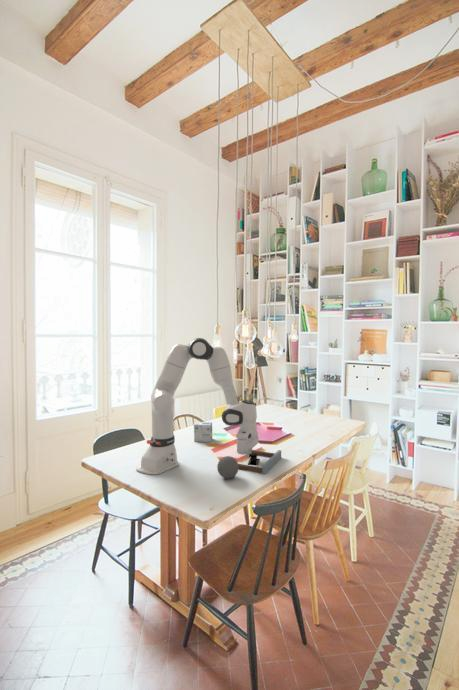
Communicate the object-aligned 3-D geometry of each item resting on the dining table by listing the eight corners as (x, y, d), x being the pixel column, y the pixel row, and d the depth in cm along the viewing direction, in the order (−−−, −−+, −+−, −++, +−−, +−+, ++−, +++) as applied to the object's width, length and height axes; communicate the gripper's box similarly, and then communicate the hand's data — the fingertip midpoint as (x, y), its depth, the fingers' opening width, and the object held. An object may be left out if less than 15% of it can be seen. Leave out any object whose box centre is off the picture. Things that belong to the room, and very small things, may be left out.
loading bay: (265, 474, 176) (265, 466, 176) (218, 465, 188) (218, 457, 187) (281, 457, 198) (281, 450, 197) (238, 450, 209) (238, 443, 209)
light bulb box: (212, 438, 232) (212, 421, 231) (211, 442, 225) (210, 424, 224) (196, 438, 233) (195, 421, 232) (193, 441, 226) (193, 424, 225)
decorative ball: (241, 480, 170) (241, 459, 169) (221, 483, 167) (221, 462, 166) (234, 472, 179) (233, 452, 179) (214, 475, 176) (214, 454, 175)
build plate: (259, 468, 186) (259, 459, 185) (245, 467, 187) (244, 458, 187) (261, 458, 198) (261, 450, 197) (248, 458, 199) (248, 449, 199)
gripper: (250, 425, 203) (250, 450, 204) (234, 435, 185) (234, 462, 186) (261, 426, 200) (261, 451, 201) (246, 437, 182) (246, 464, 183)
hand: (248, 457), depth 193 cm, fingers closed
